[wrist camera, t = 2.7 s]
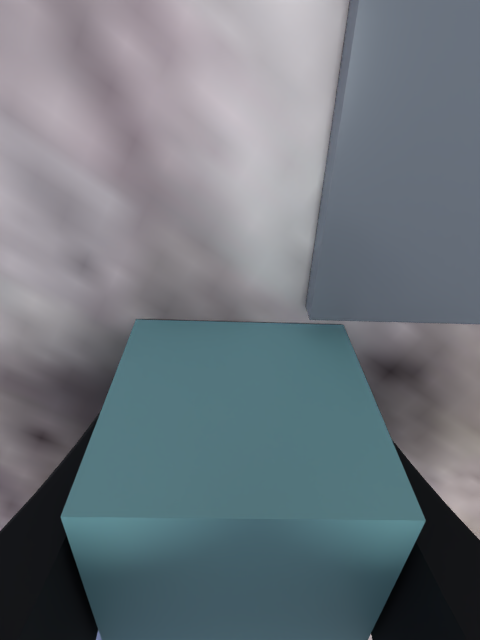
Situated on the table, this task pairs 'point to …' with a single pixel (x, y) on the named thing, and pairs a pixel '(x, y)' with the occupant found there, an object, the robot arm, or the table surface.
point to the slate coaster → (403, 169)
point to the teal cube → (240, 488)
